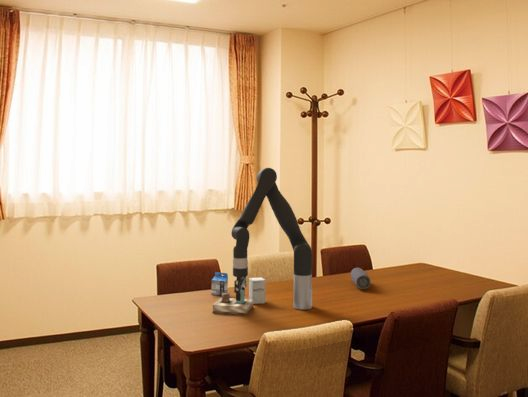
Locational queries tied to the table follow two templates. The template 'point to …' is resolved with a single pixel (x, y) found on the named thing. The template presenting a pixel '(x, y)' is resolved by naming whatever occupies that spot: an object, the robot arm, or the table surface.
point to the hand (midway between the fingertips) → (240, 298)
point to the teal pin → (241, 298)
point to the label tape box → (219, 284)
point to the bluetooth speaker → (360, 278)
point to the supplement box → (257, 290)
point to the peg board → (232, 305)
